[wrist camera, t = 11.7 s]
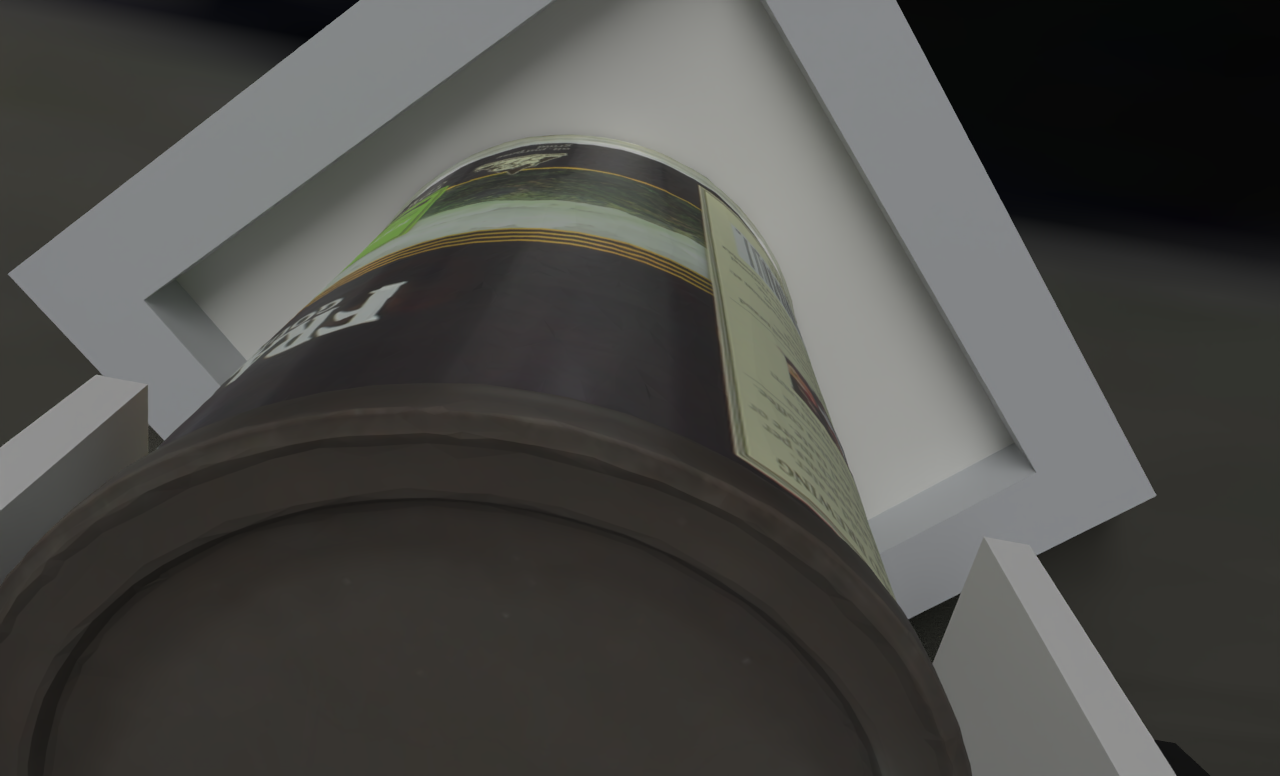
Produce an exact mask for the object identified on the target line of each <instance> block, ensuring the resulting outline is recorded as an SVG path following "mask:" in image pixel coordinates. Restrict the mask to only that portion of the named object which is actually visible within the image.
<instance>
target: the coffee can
mask: <svg viewBox="0 0 1280 776" xmlns="http://www.w3.org/2000/svg"><path fill="white" fill-rule="evenodd" d="M0 776H972V771H971V765H970V761H969V758H968V755H967V751H966V748H965V745H964V741H963V737H962V733H961V729H960V726H959V723H958V721H957V719H956V716H955V714H954V712H953V709H952V707H951V704H950V702H949V700H948V697H947V695H946V693H945V691H944V688H943V686H942V684H941V682H940V679H939V677H938V675H937V672H936V670H935V668H934V666H933V664H932V662H931V660H930V658H929V656H928V654H927V652H926V651H925V649H924V647H923V645H922V643H921V641H920V639H919V637H918V635H917V633H916V631H915V630H914V628H913V626H912V625H911V623H910V622H909V620H908V618H907V617H906V615H905V613H904V612H903V610H902V609H901V607H900V606H899V605H898V603H897V602H896V599H895V596H894V593H893V591H892V588H891V585H890V582H889V579H888V576H887V574H886V571H885V568H884V565H883V562H882V559H881V557H880V554H879V551H878V548H877V546H876V543H875V540H874V537H873V534H872V532H871V529H870V526H869V523H868V520H867V517H866V514H865V511H864V508H863V505H862V501H861V498H860V495H859V492H858V490H857V487H856V484H855V481H854V478H853V475H852V473H851V471H850V469H849V467H848V463H847V460H846V457H845V454H844V451H843V448H842V446H841V444H840V441H839V439H838V437H837V435H836V432H835V430H834V427H833V424H832V421H831V418H830V415H829V413H828V410H827V407H826V404H825V402H824V399H823V396H822V394H821V391H820V388H819V385H818V383H817V380H816V377H815V374H814V371H813V368H812V365H811V362H810V359H809V356H808V353H807V350H806V347H805V344H804V342H803V339H802V336H801V333H800V331H799V328H798V325H797V321H796V318H795V315H794V309H793V304H792V300H791V296H790V293H789V290H788V287H787V284H786V281H785V279H784V276H783V274H782V272H781V269H780V267H779V264H778V262H777V260H776V258H775V256H774V255H773V253H772V251H771V250H770V248H769V246H768V244H767V243H766V241H765V239H764V238H763V236H762V235H761V234H760V232H759V231H758V229H757V228H756V227H755V225H754V224H753V223H752V222H751V220H750V219H749V218H748V217H747V216H746V214H745V213H744V212H743V211H742V210H741V209H740V207H739V206H738V205H737V204H736V203H734V202H733V201H732V200H731V199H730V198H729V197H728V196H727V195H726V194H725V193H724V192H723V191H722V190H720V189H719V188H718V187H716V186H715V185H714V184H713V183H712V182H711V181H710V180H709V179H708V178H707V177H705V176H703V175H702V174H700V173H698V172H697V171H695V170H693V169H692V168H690V167H688V166H685V165H683V164H681V163H679V162H678V161H676V160H674V159H672V158H670V157H668V156H666V155H664V154H662V153H659V152H657V151H654V150H651V149H648V148H645V147H642V146H640V145H637V144H633V143H629V142H625V141H621V140H617V139H611V138H605V137H596V136H586V135H549V136H536V137H527V138H523V139H518V140H514V141H509V142H505V143H502V144H500V145H497V146H494V147H491V148H488V149H486V150H483V151H481V152H478V153H476V154H473V155H471V156H469V157H468V158H466V159H464V160H462V161H460V162H458V163H456V164H455V165H453V166H451V167H450V168H448V169H446V170H445V171H443V172H442V173H440V174H439V175H438V176H436V177H435V178H434V179H432V180H431V181H430V182H428V183H427V184H426V185H424V186H423V187H422V188H421V189H420V190H419V191H418V192H417V193H416V194H415V195H414V196H413V197H412V198H411V199H410V200H409V201H408V202H407V203H406V204H405V205H404V206H403V207H402V208H401V209H400V210H399V212H398V213H397V214H396V215H395V216H394V218H393V219H392V220H391V221H390V222H389V224H388V225H387V226H386V228H385V229H384V230H383V231H382V232H381V233H380V234H379V235H378V236H377V237H376V238H375V239H374V240H373V241H372V242H371V243H370V244H369V245H368V246H367V247H366V248H365V249H364V250H363V251H362V252H361V253H360V254H359V255H358V256H357V257H356V258H355V259H354V260H353V261H352V262H351V263H350V264H349V265H348V266H347V267H346V268H345V269H344V270H343V271H342V272H341V273H340V274H339V275H338V276H336V277H335V278H334V279H333V280H332V281H331V282H330V283H329V284H328V285H327V286H326V287H325V288H324V289H323V290H322V291H321V292H320V293H319V294H318V295H317V296H316V297H314V298H313V299H312V300H311V301H310V302H309V303H308V304H307V305H306V306H305V307H304V308H303V309H302V310H301V311H299V312H298V313H297V314H296V316H295V317H294V318H292V319H291V320H290V321H289V322H288V323H287V324H286V325H285V326H284V327H283V328H282V329H281V330H280V331H279V332H277V333H276V334H275V335H274V336H273V337H272V338H271V339H270V340H269V341H268V342H267V343H266V344H264V345H263V346H262V347H261V348H260V349H259V350H258V351H257V352H256V353H255V354H254V356H253V357H251V358H250V359H249V360H248V361H247V362H246V363H245V364H243V365H242V366H241V367H240V368H239V369H238V370H237V371H236V372H235V373H234V374H233V375H232V376H231V377H230V378H229V379H228V380H227V381H226V382H224V383H223V384H222V385H221V386H220V387H219V389H217V390H216V391H215V393H214V394H213V395H212V396H211V397H210V398H209V399H208V400H207V401H206V402H205V403H204V404H202V405H201V406H200V407H199V408H198V409H197V410H196V411H195V412H194V413H193V414H192V415H191V416H190V417H189V418H188V419H187V420H186V421H184V422H183V423H182V424H181V425H180V426H179V427H178V428H177V429H176V430H175V431H174V432H173V433H172V434H171V435H170V436H169V437H168V438H167V439H166V440H165V441H164V442H163V443H162V444H161V445H160V446H159V447H158V448H157V449H156V450H154V451H153V452H151V453H149V454H148V455H146V456H144V457H142V458H141V459H139V460H137V461H135V462H134V463H132V464H130V465H128V466H127V467H125V468H123V469H122V470H121V471H120V472H118V473H117V474H116V475H114V476H113V477H112V478H111V479H109V480H108V481H107V482H106V483H104V484H103V485H102V486H101V487H99V488H98V489H97V490H96V491H94V492H93V493H92V494H90V495H89V496H88V497H87V498H85V499H84V500H83V501H82V502H80V503H79V504H78V505H77V506H75V507H74V508H73V509H72V510H71V511H70V512H68V513H67V514H66V515H65V516H64V517H63V518H62V519H61V520H60V521H59V522H58V523H56V524H55V525H54V526H53V527H52V528H51V529H50V530H49V531H48V532H47V533H46V534H45V535H44V536H43V537H42V538H41V539H40V540H39V541H38V542H37V543H36V544H35V545H34V546H33V547H32V549H31V550H30V551H29V552H28V553H27V554H26V555H25V557H24V558H23V559H22V560H21V561H20V562H19V563H18V565H17V566H16V567H15V568H14V569H13V570H12V571H11V572H10V573H9V574H8V575H7V576H6V578H5V579H4V581H3V582H2V584H1V585H0Z"/></svg>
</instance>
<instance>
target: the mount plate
mask: <svg viewBox="0 0 1280 776" xmlns="http://www.w3.org/2000/svg"><path fill="white" fill-rule="evenodd" d="M549 135H586V136H596V137H605V138H611V139H617V140H621V141H625V142H629V143H633V144H637V145H640V146H642V147H645V148H648V149H651V150H654V151H657V152H659V153H662V154H664V155H666V156H668V157H670V158H672V159H674V160H676V161H678V162H679V163H681V164H683V165H685V166H688V167H690V168H692V169H693V170H695V171H697V172H698V173H700V174H702V175H703V176H705V177H707V178H708V179H709V180H710V181H711V182H712V183H713V184H714V185H715V186H716V187H718V188H719V189H720V190H722V191H723V192H724V193H725V194H726V195H727V196H728V197H729V198H730V199H731V200H732V201H733V202H734V203H736V204H737V205H738V206H739V207H740V209H741V210H742V211H743V212H744V213H745V214H746V216H747V217H748V218H749V219H750V220H751V222H752V223H753V224H754V225H755V227H756V228H757V229H758V231H759V232H760V234H761V235H762V236H763V238H764V239H765V241H766V243H767V244H768V246H769V248H770V250H771V251H772V253H773V255H774V256H775V258H776V260H777V262H778V264H779V267H780V269H781V272H782V274H783V276H784V279H785V281H786V284H787V287H788V290H789V293H790V296H791V300H792V304H793V309H794V315H795V318H796V321H797V325H798V328H799V331H800V333H801V336H802V339H803V342H804V344H805V347H806V350H807V353H808V356H809V359H810V362H811V365H812V368H813V371H814V374H815V377H816V380H817V383H818V385H819V388H820V391H821V394H822V396H823V399H824V402H825V404H826V407H827V410H828V413H829V415H830V418H831V421H832V424H833V427H834V430H835V432H836V435H837V437H838V439H839V441H840V444H841V446H842V448H843V451H844V454H845V457H846V460H847V463H848V467H849V469H850V471H851V473H852V475H853V478H854V481H855V484H856V487H857V490H858V492H859V495H860V498H861V501H862V505H863V508H864V511H865V514H866V517H867V520H868V523H869V526H870V529H871V532H872V534H873V537H874V540H875V543H876V546H877V548H878V551H879V554H880V557H881V559H882V562H883V565H884V568H885V571H886V574H887V576H888V579H889V582H890V585H891V588H892V591H893V593H894V596H895V599H896V602H897V603H898V605H899V606H900V607H901V609H902V610H903V612H904V613H905V615H906V617H907V618H908V619H910V618H912V617H914V616H916V615H918V614H920V613H922V612H924V611H926V610H928V609H930V608H932V607H934V606H936V605H938V604H940V603H942V602H944V601H946V600H948V599H950V598H952V597H954V596H956V595H958V594H960V593H961V592H962V589H963V587H964V584H965V582H966V579H967V577H968V574H969V572H970V569H971V567H972V565H973V562H974V560H975V557H976V555H977V552H978V550H979V547H980V545H981V542H982V540H983V537H989V538H994V539H1000V540H1005V541H1011V542H1016V543H1022V544H1027V545H1030V547H1031V548H1032V550H1033V551H1034V553H1035V554H1036V555H1038V554H1040V553H1042V552H1044V551H1046V550H1048V549H1050V548H1052V547H1054V546H1056V545H1058V544H1060V543H1062V542H1064V541H1066V540H1068V539H1070V538H1072V537H1074V536H1076V535H1078V534H1080V533H1082V532H1084V531H1086V530H1088V529H1090V528H1092V527H1094V526H1096V525H1098V524H1100V523H1102V522H1104V521H1107V520H1109V519H1111V518H1113V517H1115V516H1117V515H1119V514H1121V513H1123V512H1125V511H1127V510H1129V509H1131V508H1133V507H1135V506H1137V505H1139V504H1141V503H1143V502H1145V501H1147V500H1149V499H1151V498H1153V497H1155V496H1156V494H1155V492H1154V490H1153V488H1152V486H1151V485H1150V483H1149V481H1148V479H1147V477H1146V475H1145V473H1144V471H1143V469H1142V467H1141V466H1140V464H1139V462H1138V460H1137V458H1136V456H1135V454H1134V452H1133V450H1132V448H1131V447H1130V445H1129V443H1128V441H1127V439H1126V437H1125V435H1124V433H1123V431H1122V429H1121V428H1120V426H1119V424H1118V422H1117V420H1116V418H1115V416H1114V414H1113V412H1112V410H1111V408H1110V407H1109V405H1108V403H1107V401H1106V399H1105V397H1104V395H1103V393H1102V391H1101V389H1100V388H1099V386H1098V384H1097V382H1096V380H1095V378H1094V376H1093V374H1092V372H1091V370H1090V369H1089V367H1088V365H1087V363H1086V361H1085V359H1084V357H1083V355H1082V353H1081V351H1080V350H1079V348H1078V346H1077V344H1076V342H1075V340H1074V338H1073V336H1072V334H1071V332H1070V331H1069V329H1068V327H1067V325H1066V323H1065V321H1064V319H1063V317H1062V315H1061V313H1060V312H1059V310H1058V308H1057V306H1056V304H1055V302H1054V300H1053V298H1052V296H1051V294H1050V293H1049V291H1048V289H1047V287H1046V285H1045V283H1044V281H1043V279H1042V277H1041V275H1040V274H1039V272H1038V270H1037V268H1036V266H1035V264H1034V262H1033V260H1032V258H1031V256H1030V255H1029V253H1028V251H1027V249H1026V247H1025V245H1024V243H1023V241H1022V239H1021V237H1020V236H1019V234H1018V232H1017V230H1016V228H1015V226H1014V224H1013V222H1012V220H1011V218H1010V217H1009V215H1008V213H1007V211H1006V209H1005V207H1004V205H1003V203H1002V201H1001V199H1000V198H999V196H998V194H997V192H996V190H995V188H994V186H993V184H992V182H991V180H990V179H989V177H988V175H987V173H986V171H985V169H984V167H983V165H982V163H981V161H980V160H979V158H978V156H977V154H976V152H975V150H974V148H973V146H972V144H971V142H970V141H969V139H968V137H967V135H966V133H965V131H964V129H963V127H962V125H961V123H960V122H959V120H958V118H957V116H956V114H955V112H954V110H953V108H952V106H951V104H950V103H949V101H948V99H947V97H946V95H945V93H944V91H943V89H942V87H941V85H940V83H939V82H938V80H937V78H936V76H935V74H934V72H933V70H932V68H931V66H930V64H929V63H928V61H927V59H926V57H925V55H924V53H923V51H922V49H921V47H920V45H919V44H918V42H917V40H916V38H915V36H914V34H913V32H912V30H911V28H910V26H909V25H908V23H907V21H906V19H905V17H904V15H903V13H902V11H901V9H900V7H899V6H898V4H897V2H896V0H360V1H359V2H357V3H356V4H355V5H354V6H352V7H351V8H350V9H348V10H347V11H346V12H345V13H343V14H342V15H341V16H339V17H338V18H337V19H336V20H334V21H333V22H332V23H330V24H329V25H328V26H327V27H325V28H324V29H323V30H321V31H320V32H319V33H318V34H316V35H315V36H314V37H312V38H311V39H310V40H308V41H307V42H306V43H305V44H303V45H302V46H301V47H299V48H298V49H297V50H296V51H294V52H293V53H292V54H290V55H289V56H288V57H287V58H285V59H284V60H283V61H281V62H280V63H279V64H278V65H276V66H275V67H274V68H272V69H271V70H270V71H269V72H267V73H266V74H265V75H263V76H262V77H261V78H260V79H258V80H257V81H256V82H254V83H253V84H252V85H251V86H249V87H248V88H247V89H245V90H244V91H243V92H242V93H240V94H239V95H238V96H236V97H235V98H234V99H233V100H231V101H230V102H229V103H227V104H226V105H225V106H223V107H222V108H221V109H220V110H218V111H217V112H216V113H214V114H213V115H212V116H211V117H209V118H208V119H207V120H205V121H204V122H203V123H202V124H200V125H199V126H198V127H196V128H195V129H194V130H193V131H191V132H190V133H189V134H187V135H186V136H185V137H184V138H182V139H181V140H180V141H178V142H177V143H176V144H175V145H173V146H172V147H171V148H169V149H168V150H167V151H166V152H164V153H163V154H162V155H160V156H159V157H158V158H157V159H155V160H154V161H153V162H151V163H150V164H149V165H148V166H146V167H145V168H144V169H142V170H141V171H140V172H138V173H137V174H136V175H135V176H133V177H132V178H131V179H129V180H128V181H127V182H126V183H124V184H123V185H122V186H120V187H119V188H118V189H117V190H115V191H114V192H113V193H111V194H110V195H109V196H108V197H106V198H105V199H104V200H102V201H101V202H100V203H99V204H97V205H96V206H95V207H93V208H92V209H91V210H90V211H88V212H87V213H86V214H84V215H83V216H82V217H81V218H79V219H78V220H77V221H75V222H74V223H73V224H72V225H70V226H69V227H68V228H66V229H65V230H64V231H63V232H61V233H60V234H59V235H57V236H56V237H55V238H53V239H52V240H51V241H50V242H48V243H47V244H46V245H44V246H43V247H42V248H41V249H39V250H38V251H37V252H35V253H34V254H33V255H32V256H30V257H29V258H28V259H26V260H25V261H24V262H23V263H21V264H20V265H19V266H17V267H16V268H15V269H14V270H12V271H11V272H10V273H8V275H9V276H10V277H11V278H12V279H13V280H14V281H15V282H16V283H17V284H18V285H19V286H20V287H21V289H22V290H23V291H24V292H25V293H26V294H27V295H28V296H29V297H30V298H31V299H32V300H33V301H34V302H35V303H36V304H37V306H38V307H39V308H40V309H41V310H42V311H43V312H44V313H45V314H46V315H47V316H48V317H49V318H50V319H51V320H52V322H53V323H54V324H55V325H56V326H57V327H58V328H59V329H60V330H61V331H62V332H63V333H64V334H65V335H66V336H67V337H68V339H69V340H70V341H71V342H72V343H73V344H74V345H75V346H76V347H77V348H78V349H79V350H80V351H81V352H82V353H83V354H84V356H85V357H86V358H87V359H88V360H89V361H90V362H91V363H92V364H93V365H94V366H95V367H96V368H97V369H98V370H99V372H100V373H101V374H102V375H103V376H105V377H111V378H116V379H122V380H127V381H133V382H138V383H144V384H148V424H149V425H150V426H151V427H152V428H153V429H154V430H155V431H156V432H157V433H158V434H159V435H160V436H161V438H162V439H163V440H164V441H165V440H166V439H167V438H168V437H169V436H170V435H171V434H172V433H173V432H174V431H175V430H176V429H177V428H178V427H179V426H180V425H181V424H182V423H183V422H184V421H186V420H187V419H188V418H189V417H190V416H191V415H192V414H193V413H194V412H195V411H196V410H197V409H198V408H199V407H200V406H201V405H202V404H204V403H205V402H206V401H207V400H208V399H209V398H210V397H211V396H212V395H213V394H214V393H215V391H216V390H217V389H219V387H220V386H221V385H222V384H223V383H224V382H226V381H227V380H228V379H229V378H230V377H231V376H232V375H233V374H234V373H235V372H236V371H237V370H238V369H239V368H240V367H241V366H242V365H243V364H245V363H246V362H247V361H248V360H249V359H250V358H251V357H253V356H254V354H255V353H256V352H257V351H258V350H259V349H260V348H261V347H262V346H263V345H264V344H266V343H267V342H268V341H269V340H270V339H271V338H272V337H273V336H274V335H275V334H276V333H277V332H279V331H280V330H281V329H282V328H283V327H284V326H285V325H286V324H287V323H288V322H289V321H290V320H291V319H292V318H294V317H295V316H296V314H297V313H298V312H299V311H301V310H302V309H303V308H304V307H305V306H306V305H307V304H308V303H309V302H310V301H311V300H312V299H313V298H314V297H316V296H317V295H318V294H319V293H320V292H321V291H322V290H323V289H324V288H325V287H326V286H327V285H328V284H329V283H330V282H331V281H332V280H333V279H334V278H335V277H336V276H338V275H339V274H340V273H341V272H342V271H343V270H344V269H345V268H346V267H347V266H348V265H349V264H350V263H351V262H352V261H353V260H354V259H355V258H356V257H357V256H358V255H359V254H360V253H361V252H362V251H363V250H364V249H365V248H366V247H367V246H368V245H369V244H370V243H371V242H372V241H373V240H374V239H375V238H376V237H377V236H378V235H379V234H380V233H381V232H382V231H383V230H384V229H385V228H386V226H387V225H388V224H389V222H390V221H391V220H392V219H393V218H394V216H395V215H396V214H397V213H398V212H399V210H400V209H401V208H402V207H403V206H404V205H405V204H406V203H407V202H408V201H409V200H410V199H411V198H412V197H413V196H414V195H415V194H416V193H417V192H418V191H419V190H420V189H421V188H422V187H423V186H424V185H426V184H427V183H428V182H430V181H431V180H432V179H434V178H435V177H436V176H438V175H439V174H440V173H442V172H443V171H445V170H446V169H448V168H450V167H451V166H453V165H455V164H456V163H458V162H460V161H462V160H464V159H466V158H468V157H469V156H471V155H473V154H476V153H478V152H481V151H483V150H486V149H488V148H491V147H494V146H497V145H500V144H502V143H505V142H509V141H514V140H518V139H523V138H527V137H536V136H549Z"/></svg>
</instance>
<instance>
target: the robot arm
mask: <svg viewBox="0 0 1280 776" xmlns="http://www.w3.org/2000/svg"><path fill="white" fill-rule="evenodd" d="M146 455H148V384H144V383H138V382H133V381H127V380H122V379H116V378H111V377H105V376H100V375H95V376H94V377H93V378H91V379H90V380H89V381H87V382H86V383H85V384H83V385H82V386H81V387H79V388H78V389H77V390H75V391H74V392H73V393H71V394H70V395H69V396H67V397H66V398H65V399H64V400H62V401H61V402H60V403H58V404H57V405H56V406H54V407H53V408H52V409H50V410H49V411H48V412H46V413H45V414H44V415H42V416H41V417H40V418H38V419H37V420H36V421H34V422H33V423H32V424H31V425H29V426H28V427H27V428H25V429H24V430H23V431H21V432H20V433H19V434H17V435H16V436H15V437H13V438H12V439H11V440H9V441H8V442H7V443H5V444H4V445H3V446H2V447H0V585H1V584H2V582H3V581H4V579H5V578H6V576H7V575H8V574H9V573H10V572H11V571H12V570H13V569H14V568H15V567H16V566H17V565H18V563H19V562H20V561H21V560H22V559H23V558H24V557H25V555H26V554H27V553H28V552H29V551H30V550H31V549H32V547H33V546H34V545H35V544H36V543H37V542H38V541H39V540H40V539H41V538H42V537H43V536H44V535H45V534H46V533H47V532H48V531H49V530H50V529H51V528H52V527H53V526H54V525H55V524H56V523H58V522H59V521H60V520H61V519H62V518H63V517H64V516H65V515H66V514H67V513H68V512H70V511H71V510H72V509H73V508H74V507H75V506H77V505H78V504H79V503H80V502H82V501H83V500H84V499H85V498H87V497H88V496H89V495H90V494H92V493H93V492H94V491H96V490H97V489H98V488H99V487H101V486H102V485H103V484H104V483H106V482H107V481H108V480H109V479H111V478H112V477H113V476H114V475H116V474H117V473H118V472H120V471H121V470H122V469H123V468H125V467H127V466H128V465H130V464H132V463H134V462H135V461H137V460H139V459H141V458H142V457H144V456H146ZM933 666H934V668H935V670H936V672H937V675H938V677H939V679H940V682H941V684H942V686H943V688H944V691H945V693H946V695H947V697H948V700H949V702H950V704H951V707H952V709H953V712H954V714H955V716H956V719H957V721H958V723H959V726H960V729H961V733H962V737H963V741H964V745H965V748H966V751H967V755H968V758H969V761H970V765H971V771H972V776H1210V775H1209V774H1208V773H1207V772H1206V771H1205V770H1204V769H1202V768H1201V767H1200V766H1199V765H1198V764H1197V763H1196V762H1195V761H1194V760H1193V759H1192V758H1191V757H1190V756H1188V755H1187V754H1186V753H1185V752H1184V751H1183V750H1182V749H1181V748H1180V747H1179V746H1178V745H1177V744H1175V743H1171V742H1165V741H1159V740H1154V739H1153V738H1152V736H1151V735H1150V733H1149V732H1148V730H1147V729H1146V727H1145V725H1144V724H1143V722H1142V721H1141V719H1140V718H1139V716H1138V714H1137V713H1136V711H1135V710H1134V708H1133V707H1132V705H1131V703H1130V702H1129V700H1128V699H1127V697H1126V696H1125V694H1124V692H1123V691H1122V689H1121V688H1120V686H1119V685H1118V683H1117V681H1116V680H1115V678H1114V677H1113V675H1112V674H1111V672H1110V670H1109V669H1108V667H1107V666H1106V664H1105V663H1104V661H1103V659H1102V658H1101V656H1100V655H1099V653H1098V652H1097V650H1096V648H1095V647H1094V645H1093V644H1092V642H1091V641H1090V639H1089V638H1088V636H1087V634H1086V633H1085V631H1084V630H1083V628H1082V627H1081V625H1080V623H1079V622H1078V620H1077V619H1076V617H1075V616H1074V614H1073V612H1072V611H1071V609H1070V608H1069V606H1068V605H1067V603H1066V601H1065V600H1064V598H1063V597H1062V595H1061V594H1060V592H1059V590H1058V589H1057V587H1056V586H1055V584H1054V583H1053V581H1052V579H1051V578H1050V576H1049V575H1048V573H1047V572H1046V570H1045V568H1044V567H1043V565H1042V564H1041V562H1040V561H1039V559H1038V557H1037V556H1036V554H1035V553H1034V551H1033V550H1032V548H1031V547H1030V545H1027V544H1022V543H1016V542H1011V541H1005V540H1000V539H994V538H989V537H983V540H982V542H981V545H980V547H979V550H978V552H977V555H976V557H975V560H974V562H973V565H972V567H971V569H970V572H969V574H968V577H967V579H966V582H965V584H964V587H963V589H962V592H961V594H960V597H959V599H958V602H957V604H956V607H955V609H954V612H953V614H952V617H951V619H950V622H949V624H948V627H947V629H946V632H945V634H944V637H943V639H942V641H941V644H940V646H939V649H938V651H937V654H936V656H935V659H934V661H933Z"/></svg>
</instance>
